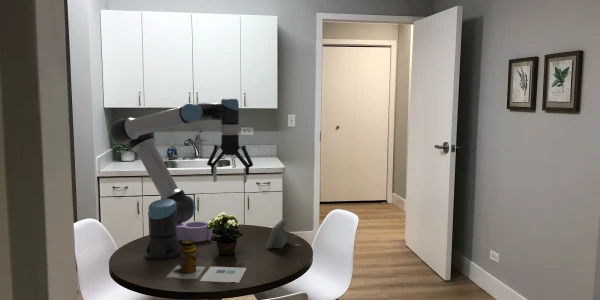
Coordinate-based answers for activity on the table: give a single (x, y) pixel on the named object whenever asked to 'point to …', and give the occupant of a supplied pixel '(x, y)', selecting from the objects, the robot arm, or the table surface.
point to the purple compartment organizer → (194, 231)
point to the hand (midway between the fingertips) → (230, 181)
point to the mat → (189, 276)
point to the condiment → (187, 258)
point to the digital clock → (277, 236)
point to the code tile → (223, 274)
